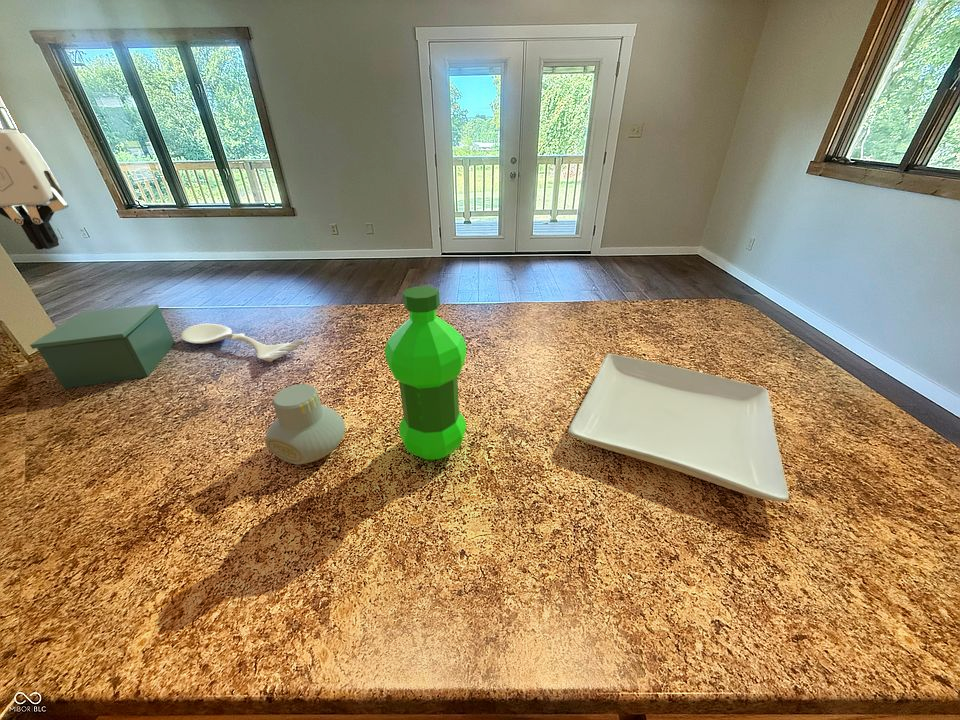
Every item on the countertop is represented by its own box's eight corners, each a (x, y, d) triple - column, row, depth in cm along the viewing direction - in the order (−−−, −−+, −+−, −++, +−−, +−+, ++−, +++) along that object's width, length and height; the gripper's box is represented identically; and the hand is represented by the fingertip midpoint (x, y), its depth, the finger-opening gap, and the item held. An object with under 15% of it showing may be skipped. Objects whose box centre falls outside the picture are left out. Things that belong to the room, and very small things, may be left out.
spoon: (274, 372, 77) (270, 357, 75) (175, 343, 88) (169, 330, 87) (308, 352, 84) (304, 338, 83) (212, 328, 96) (207, 315, 94)
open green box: (148, 376, 76) (127, 337, 72) (64, 389, 72) (36, 348, 68) (175, 342, 89) (159, 307, 84) (104, 351, 85) (84, 315, 81)
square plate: (604, 366, 78) (607, 350, 76) (761, 404, 67) (769, 386, 65) (564, 448, 58) (566, 428, 56) (780, 521, 47) (793, 500, 45)
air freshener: (357, 439, 60) (345, 387, 55) (320, 477, 53) (302, 421, 48) (303, 423, 63) (288, 372, 58) (262, 456, 57) (240, 402, 52)
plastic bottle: (424, 419, 64) (410, 274, 51) (480, 438, 60) (479, 286, 47) (386, 457, 56) (358, 298, 44) (446, 482, 52) (434, 314, 40)
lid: (124, 337, 71) (122, 333, 70) (32, 348, 67) (29, 344, 67) (159, 307, 84) (157, 304, 84) (84, 315, 81) (82, 311, 80)
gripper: (-117, 120, 51) (-25, 256, 60) (24, 121, 55) (90, 249, 64) (-68, 123, 57) (8, 246, 67) (55, 123, 61) (111, 239, 71)
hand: (48, 247), depth 66 cm, fingers closed
